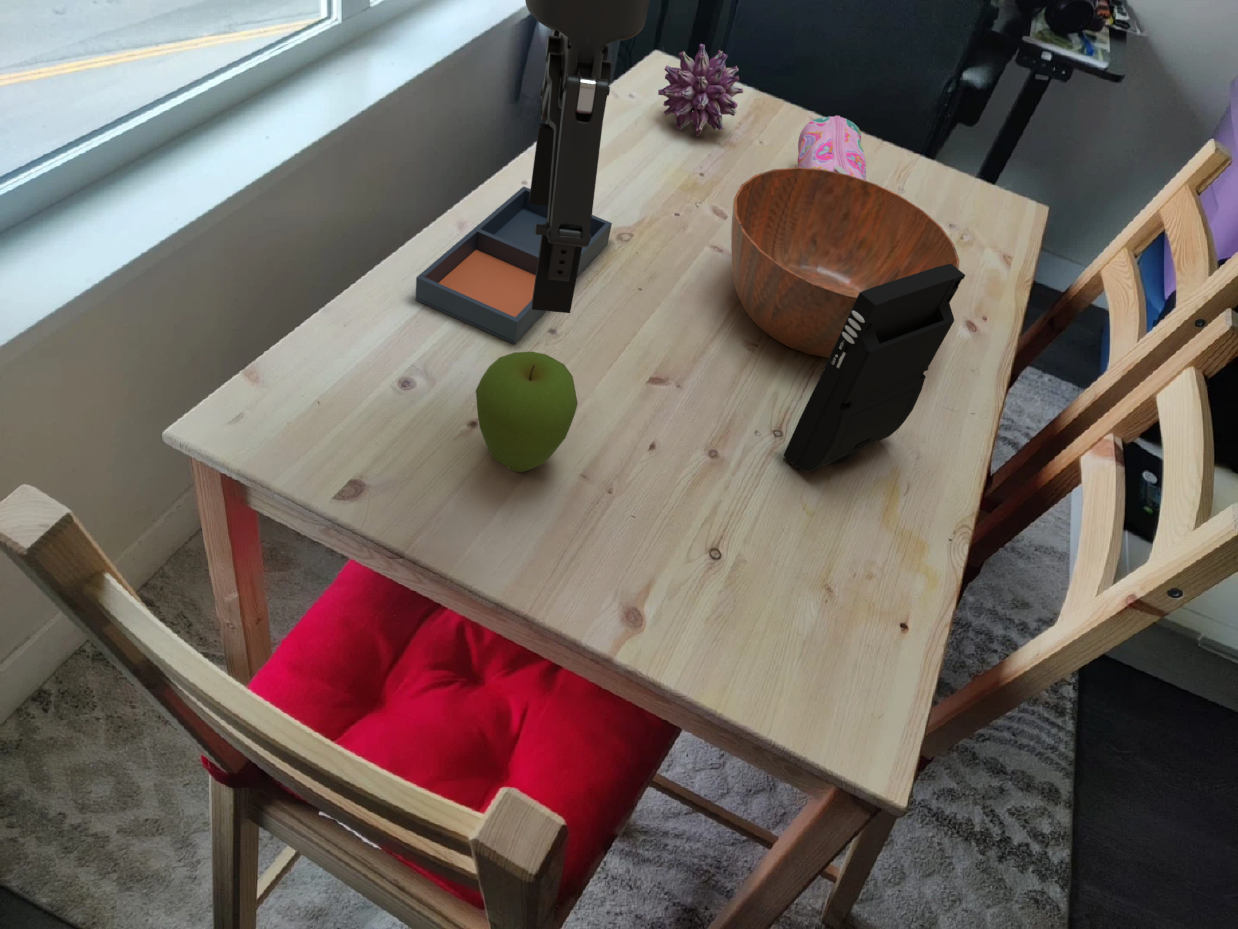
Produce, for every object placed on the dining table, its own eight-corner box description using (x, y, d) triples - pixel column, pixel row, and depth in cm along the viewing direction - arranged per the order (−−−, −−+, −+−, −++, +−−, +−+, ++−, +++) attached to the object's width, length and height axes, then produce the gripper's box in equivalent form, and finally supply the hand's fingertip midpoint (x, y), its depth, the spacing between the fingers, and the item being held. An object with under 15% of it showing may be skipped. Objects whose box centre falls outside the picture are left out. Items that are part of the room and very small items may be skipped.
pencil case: (860, 259, 116) (888, 197, 109) (791, 243, 115) (815, 179, 109) (849, 177, 131) (874, 117, 124) (788, 162, 130) (809, 102, 124)
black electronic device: (861, 419, 94) (946, 258, 80) (892, 449, 92) (985, 289, 78) (777, 455, 88) (853, 288, 74) (808, 487, 86) (892, 321, 72)
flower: (659, 114, 137) (739, 115, 136) (655, 149, 128) (741, 150, 127) (660, 33, 129) (745, 33, 128) (656, 64, 120) (747, 65, 119)
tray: (514, 344, 92) (517, 322, 90) (415, 300, 94) (416, 277, 92) (607, 243, 108) (612, 222, 106) (521, 207, 110) (523, 185, 108)
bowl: (883, 263, 116) (921, 183, 108) (942, 398, 99) (992, 315, 91) (694, 239, 112) (718, 154, 104) (721, 376, 95) (753, 286, 87)
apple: (510, 413, 86) (523, 316, 77) (583, 458, 83) (605, 363, 75) (449, 463, 80) (457, 364, 72) (526, 513, 78) (543, 416, 70)
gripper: (683, 51, 46) (608, 366, 61) (637, -105, 63) (587, 172, 78) (535, 28, 45) (496, 355, 60) (528, -126, 62) (499, 161, 77)
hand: (548, 252), depth 69 cm, fingers open, 13 cm apart
